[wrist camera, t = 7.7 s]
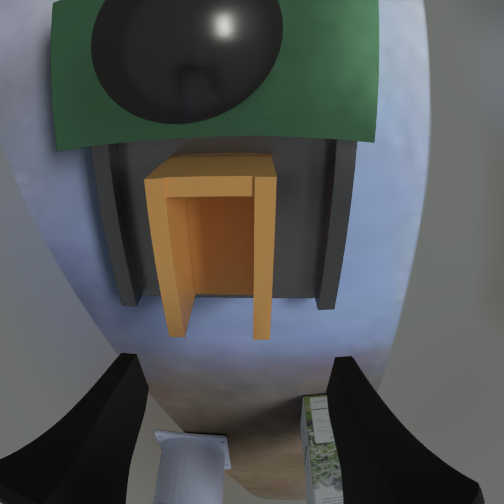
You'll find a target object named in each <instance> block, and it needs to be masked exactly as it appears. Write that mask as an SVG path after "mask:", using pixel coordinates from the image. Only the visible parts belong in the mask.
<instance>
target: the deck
mask: <svg viewBox="0 0 504 504" xmlns="http://www.w3.org/2000/svg"><path fill="white" fill-rule="evenodd" d="M378 77H379V7H378V0H60V1H57V2H54V3H53V9H52V25H51V87H52V104H53V117H54V128H55V137H56V145H57V151H63V150H69V149H76V148H83V147H90V146H91V151H92V159H93V167H94V174H95V181H96V187H97V194H98V200H99V206H100V211H101V217H102V222H103V227H104V232H105V237H106V242H107V246H108V251H109V255H110V260H111V264H112V268H113V272H114V276H115V280H116V284H117V288H118V292H119V295H120V299H121V303H122V306H137V305H138V303H139V300H140V298H141V296H142V295H153V296H161V292H160V287H159V281H158V275H157V270H156V264H155V258H154V251H153V245H152V238H151V231H150V224H149V217H148V209H147V201H146V192H145V183H144V179H145V178H146V177H147V176H148V175H149V174H150V173H152V172H153V171H154V170H155V169H156V168H157V167H158V166H160V165H161V164H162V163H163V162H164V161H165V160H167V159H168V158H169V157H170V156H171V155H178V154H206V153H271V156H272V160H273V164H274V168H275V172H276V176H277V183H276V212H275V239H274V262H273V284H272V298H315V300H316V304H317V308H318V310H328V309H334V307H335V302H336V297H337V291H338V286H339V280H340V274H341V268H342V262H343V256H344V250H345V243H346V236H347V229H348V222H349V214H350V206H351V198H352V189H353V180H354V171H355V160H356V149H357V141H362V142H372V143H374V141H375V129H376V116H377V99H378ZM195 297H223V298H254V295H219V294H196V295H195Z"/></svg>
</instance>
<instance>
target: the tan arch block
mask: <svg viewBox="0 0 504 504" xmlns="http://www.w3.org/2000/svg"><path fill="white" fill-rule="evenodd" d="M144 183H145V192H146V201H147V209H148V217H149V224H150V231H151V238H152V245H153V251H154V258H155V264H156V270H157V275H158V281H159V287H160V292H161V297H162V303H163V308H164V313H165V318H166V323H167V327H168V332H169V337H185V335H186V331H187V327H188V323H189V318H190V314H191V310H192V306H193V303H194V299H195V295H196V294H219V295H254V312H253V339H260V340H270V324H271V304H272V284H273V262H274V239H275V212H276V183H277V176H276V172H275V168H274V164H273V160H272V156H271V153H206V154H178V155H171V156H170V157H169V158H168V159H167V160H165V161H164V162H163V163H162V164H161V165H160V166H158V167H157V168H156V169H155V170H154V171H153V172H152V173H150V174H149V175H148V176H147V177H146V178H145V179H144Z"/></svg>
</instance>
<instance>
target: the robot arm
mask: <svg viewBox="0 0 504 504" xmlns="http://www.w3.org/2000/svg"><path fill="white" fill-rule="evenodd" d="M148 389H149V387H148V384H147V382H146V379H145V376H144V374H143V371H142V368H141V365H140V363H139V360H138V357H137V354H129V353H121V354H120V355H119V356H118V358H117V359H116V360H115V361H114V362H113V363H112V365H111V366H110V367H109V368H108V369H107V371H106V372H105V373H104V374H103V375H102V377H101V378H100V379H99V380H98V381H97V382H96V383H95V385H94V386H93V387H92V388H91V389H90V390H89V392H88V393H87V394H86V395H85V396H84V397H83V398H82V399H81V400H80V401H79V402H78V403H77V404H76V405H75V406H74V407H73V408H72V409H71V410H70V411H69V412H68V413H67V414H66V415H65V416H64V417H63V418H62V419H61V420H60V421H59V422H57V423H56V424H55V425H54V426H53V427H51V428H50V429H49V430H47V431H46V432H45V433H44V434H42V435H41V436H40V437H38V438H37V439H36V440H34V441H32V442H31V443H29V444H28V445H26V446H24V447H23V448H21V449H20V450H18V451H16V452H14V453H13V454H11V455H9V456H7V457H4V458H2V459H0V502H1V503H3V504H126V493H127V482H128V476H129V469H130V463H131V459H132V455H133V451H134V448H135V444H136V441H137V437H138V433H139V430H140V427H141V423H142V420H143V416H144V413H145V408H146V402H147V396H148ZM326 392H327V402H328V412H329V418H330V423H331V427H332V431H333V436H334V440H335V445H336V449H337V454H338V458H339V463H340V469H341V477H342V489H343V504H484V503H485V501H484V498H483V494H482V491H481V488H480V486H479V484H478V483H477V482H475V481H474V480H472V479H470V478H468V477H467V476H465V475H463V474H461V473H460V472H458V471H456V470H455V469H453V468H452V467H451V466H449V465H447V464H446V463H445V462H444V461H442V460H441V459H440V458H439V457H437V456H436V455H434V454H433V453H432V452H431V451H430V450H428V449H427V448H426V447H425V446H424V445H423V444H422V443H420V441H418V440H417V439H416V438H415V437H414V436H413V435H412V434H411V433H410V432H409V431H408V430H407V429H406V428H405V427H404V425H403V424H402V423H401V422H400V421H399V420H398V419H397V418H396V416H395V415H394V414H393V413H392V412H391V411H390V409H389V408H388V407H387V405H386V404H385V403H384V402H383V400H382V399H381V398H380V396H379V395H378V394H377V392H376V391H375V390H374V388H373V387H372V385H371V384H370V382H369V381H368V380H367V378H366V377H365V375H364V374H363V372H362V371H361V369H360V368H359V366H358V364H357V363H356V361H355V360H354V358H353V357H352V356H347V357H335V360H334V364H333V368H332V372H331V376H330V380H329V383H328V387H327V391H326ZM154 435H155V437H156V439H157V440H158V443H159V444H160V446H161V448H162V455H161V461H160V466H159V471H158V477H157V482H156V488H155V494H154V500H153V504H222V497H223V481H224V469H231V462H230V455H229V448H228V441H227V437H226V436H222V435H205V434H192V433H181V432H171V431H163V430H155V431H154Z"/></svg>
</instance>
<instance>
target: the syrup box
mask: <svg viewBox="0 0 504 504" xmlns="http://www.w3.org/2000/svg"><path fill="white" fill-rule="evenodd" d="M300 429H301V438H302V445H303V454H304V464H305V477H306V490H307V504H343V489H342V477H341V469H340V463H339V458H338V454H337V449H336V445H335V440H334V436H333V431H332V427H331V423H330V418H329V412H328V402H327V394H323V395H313V396H304V397H303V401H302V413H301V424H300Z"/></svg>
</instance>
